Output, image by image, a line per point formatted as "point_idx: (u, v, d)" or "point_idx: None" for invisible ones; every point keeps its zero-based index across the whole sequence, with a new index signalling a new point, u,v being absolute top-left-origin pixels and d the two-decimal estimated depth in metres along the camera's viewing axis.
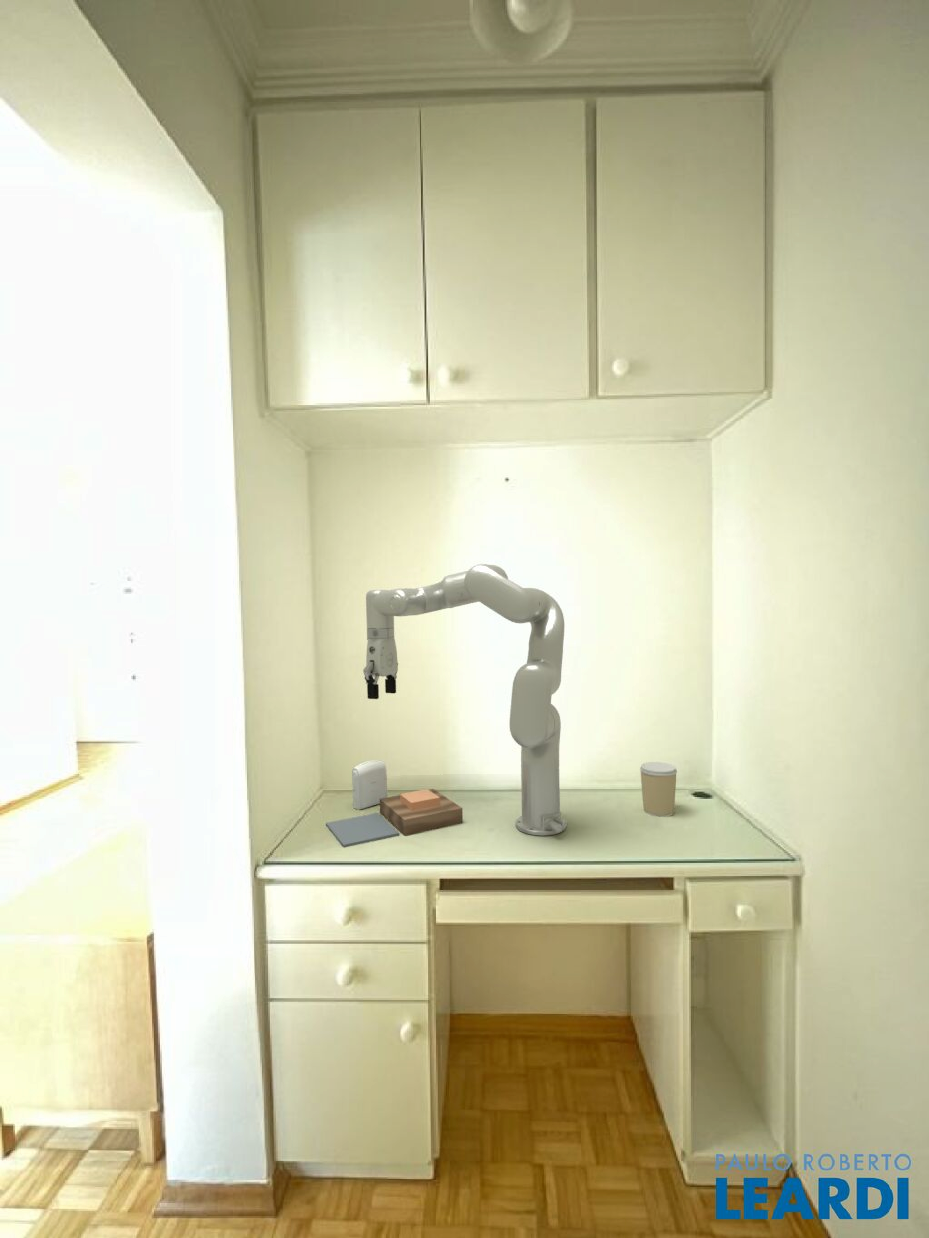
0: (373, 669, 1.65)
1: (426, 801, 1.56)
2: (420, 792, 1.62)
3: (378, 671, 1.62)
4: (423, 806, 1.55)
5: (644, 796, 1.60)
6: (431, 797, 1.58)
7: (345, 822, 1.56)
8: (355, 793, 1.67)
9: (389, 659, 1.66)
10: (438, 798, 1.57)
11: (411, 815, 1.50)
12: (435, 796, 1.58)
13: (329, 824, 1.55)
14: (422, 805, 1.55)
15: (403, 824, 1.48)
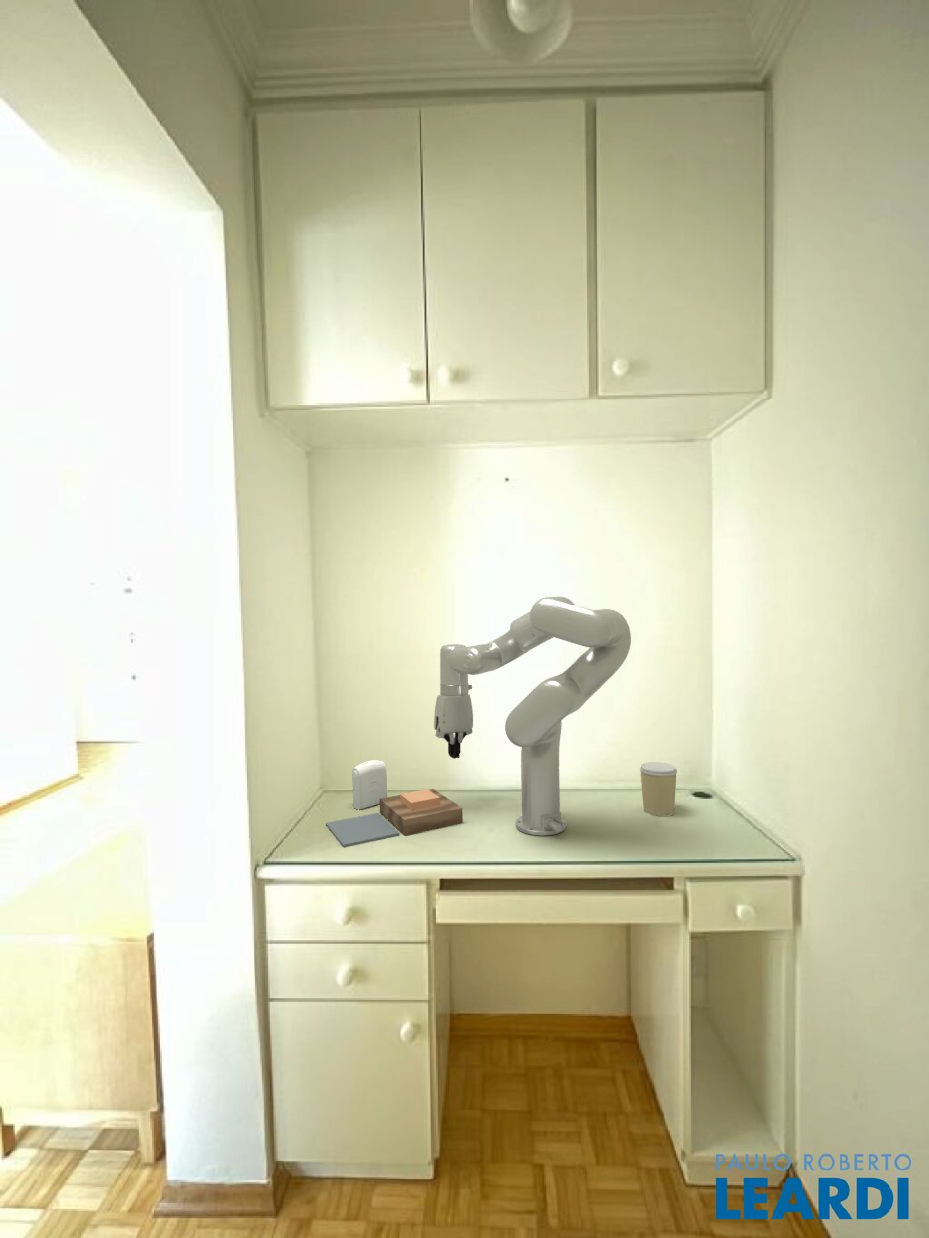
0: None
1: (426, 801, 1.56)
2: (420, 792, 1.62)
3: None
4: (423, 806, 1.55)
5: (644, 796, 1.60)
6: (431, 797, 1.58)
7: (345, 822, 1.56)
8: (355, 793, 1.67)
9: None
10: (438, 798, 1.57)
11: (411, 815, 1.50)
12: (435, 796, 1.58)
13: (329, 824, 1.55)
14: (422, 805, 1.55)
15: (403, 824, 1.48)
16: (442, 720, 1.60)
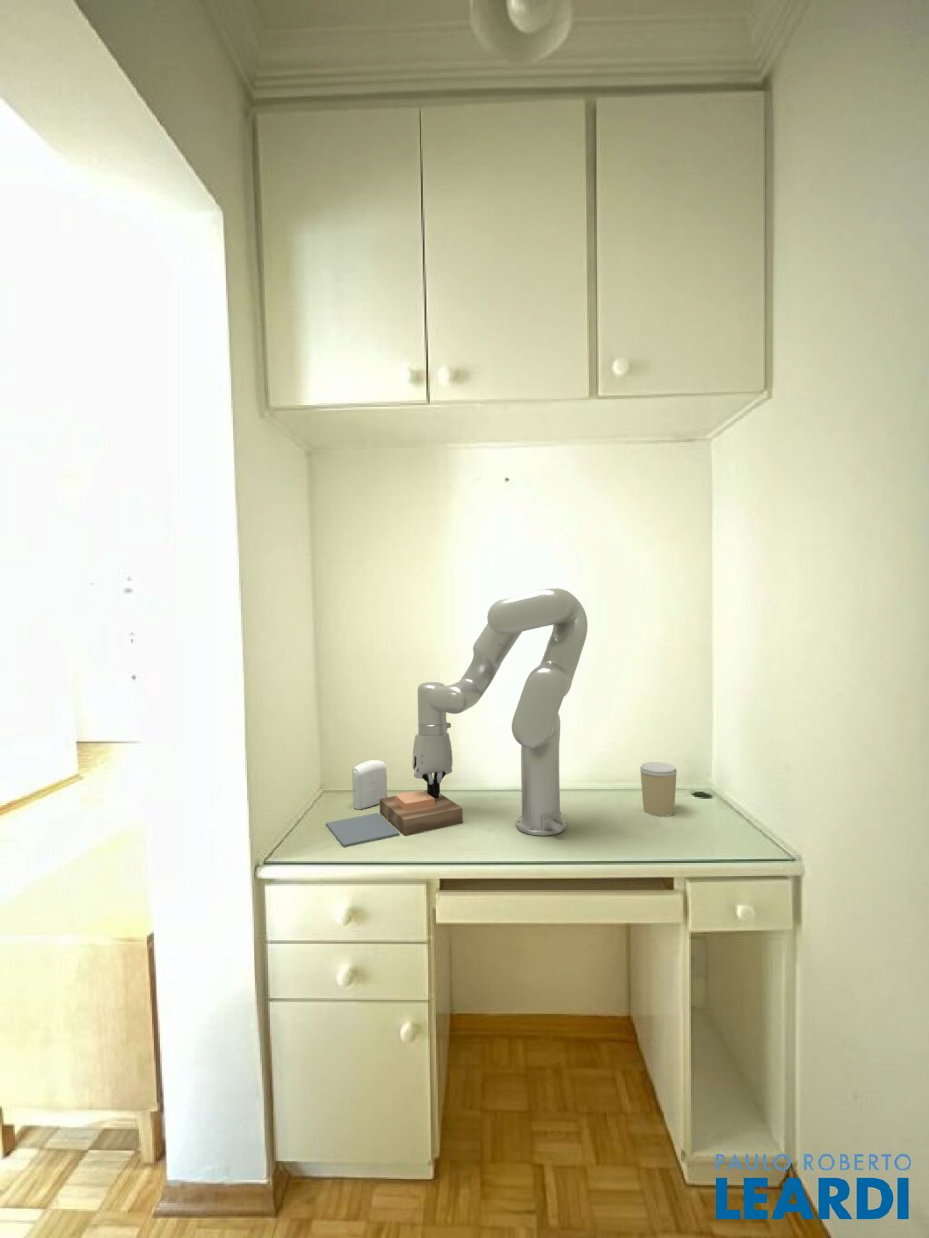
0: None
1: (421, 802, 1.55)
2: (415, 793, 1.61)
3: None
4: (418, 807, 1.55)
5: (644, 796, 1.60)
6: (426, 798, 1.57)
7: (345, 822, 1.56)
8: (355, 793, 1.67)
9: None
10: (433, 799, 1.57)
11: (411, 815, 1.50)
12: (430, 797, 1.58)
13: (329, 824, 1.55)
14: (416, 806, 1.55)
15: (403, 824, 1.48)
16: (420, 760, 1.57)
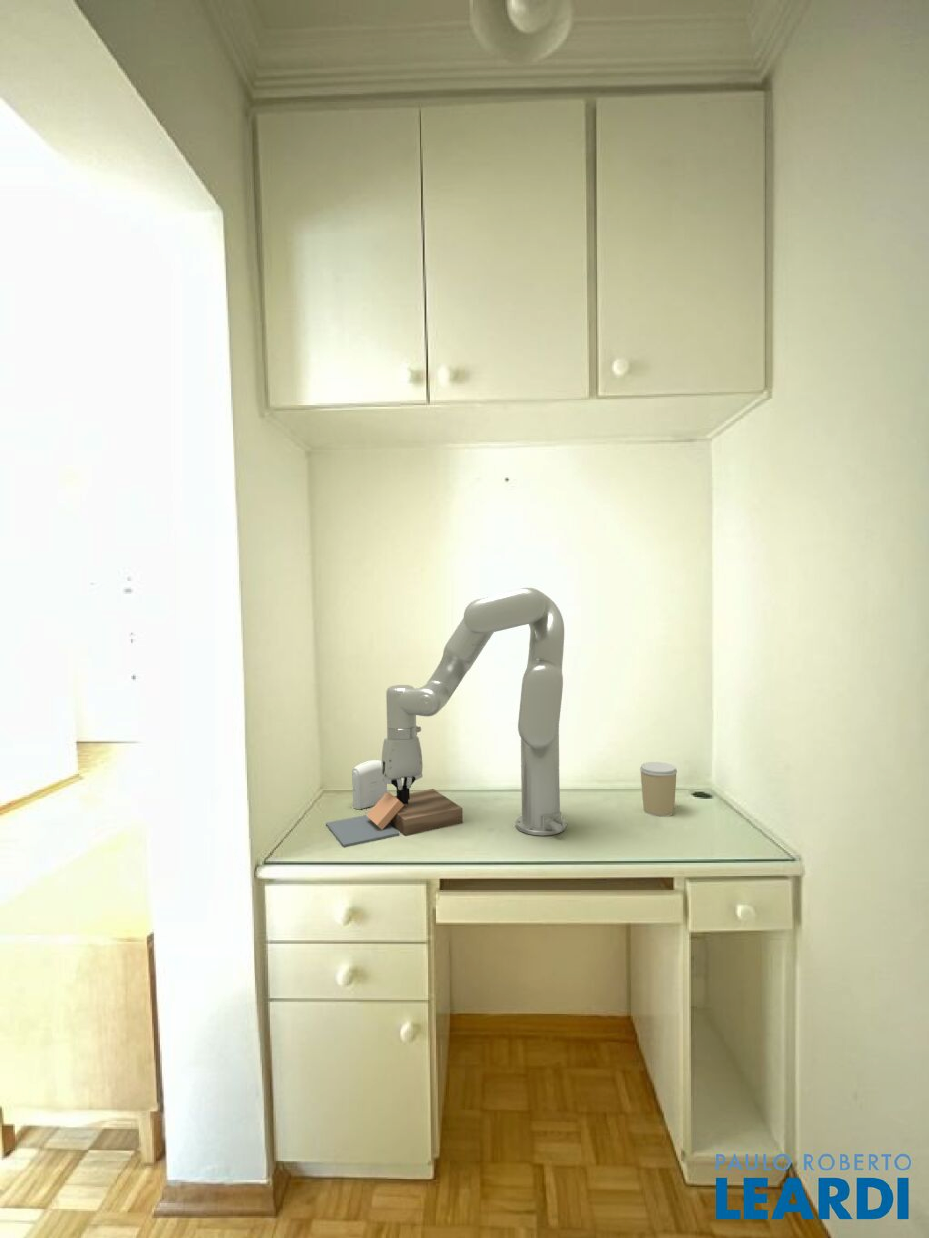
0: None
1: (390, 812, 1.51)
2: (382, 800, 1.57)
3: None
4: (390, 818, 1.51)
5: (644, 796, 1.60)
6: (392, 804, 1.52)
7: (345, 822, 1.56)
8: (355, 793, 1.67)
9: None
10: (398, 801, 1.52)
11: (411, 815, 1.50)
12: (395, 800, 1.53)
13: (329, 824, 1.55)
14: (388, 818, 1.51)
15: (403, 824, 1.48)
16: (388, 765, 1.53)
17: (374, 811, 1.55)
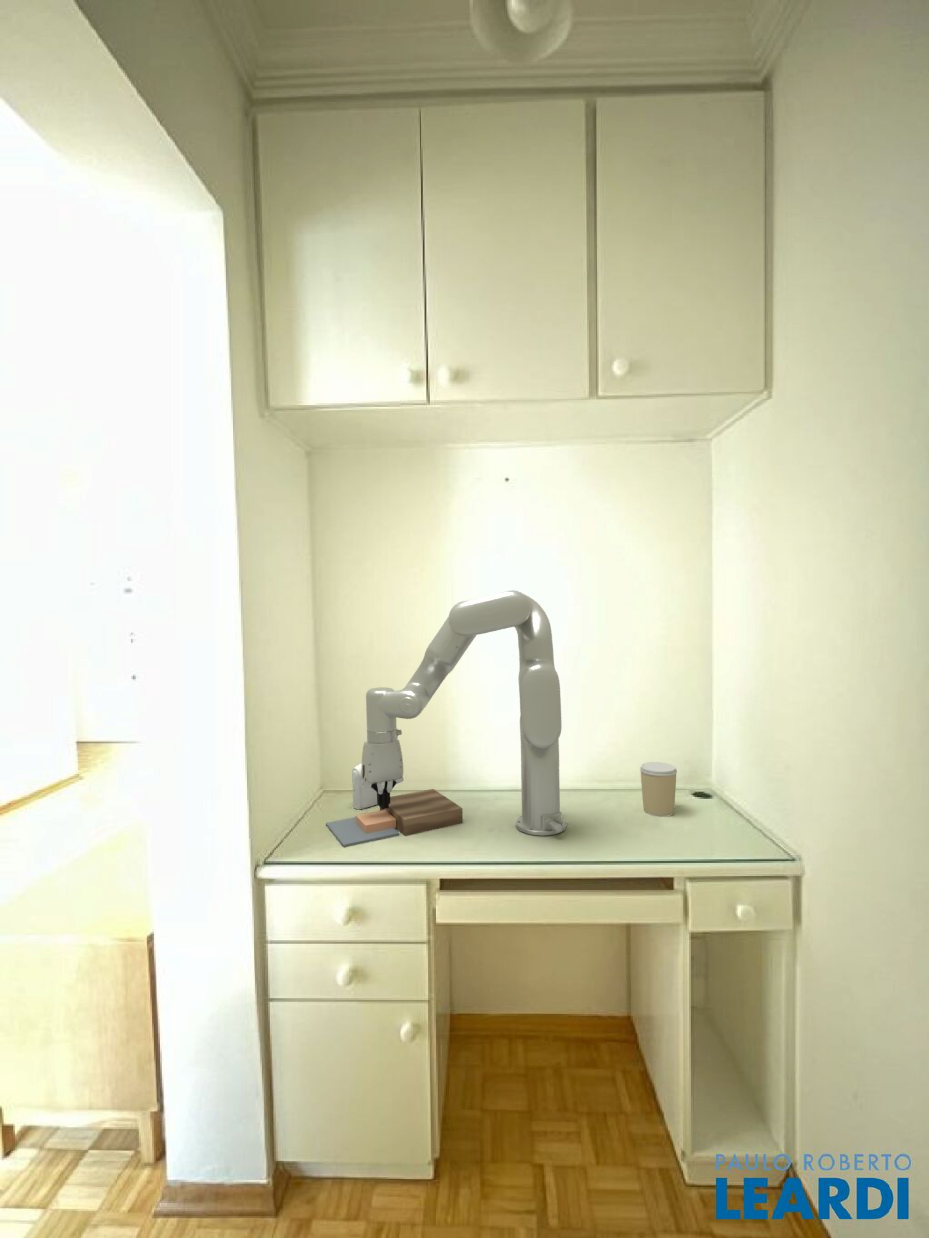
0: None
1: (381, 824, 1.50)
2: (377, 813, 1.56)
3: None
4: (378, 829, 1.50)
5: (644, 796, 1.60)
6: (387, 819, 1.52)
7: (345, 822, 1.56)
8: (355, 793, 1.67)
9: None
10: (394, 820, 1.52)
11: (411, 815, 1.50)
12: (391, 818, 1.53)
13: (329, 824, 1.55)
14: (376, 827, 1.50)
15: (403, 824, 1.48)
16: (368, 769, 1.50)
17: (366, 816, 1.54)
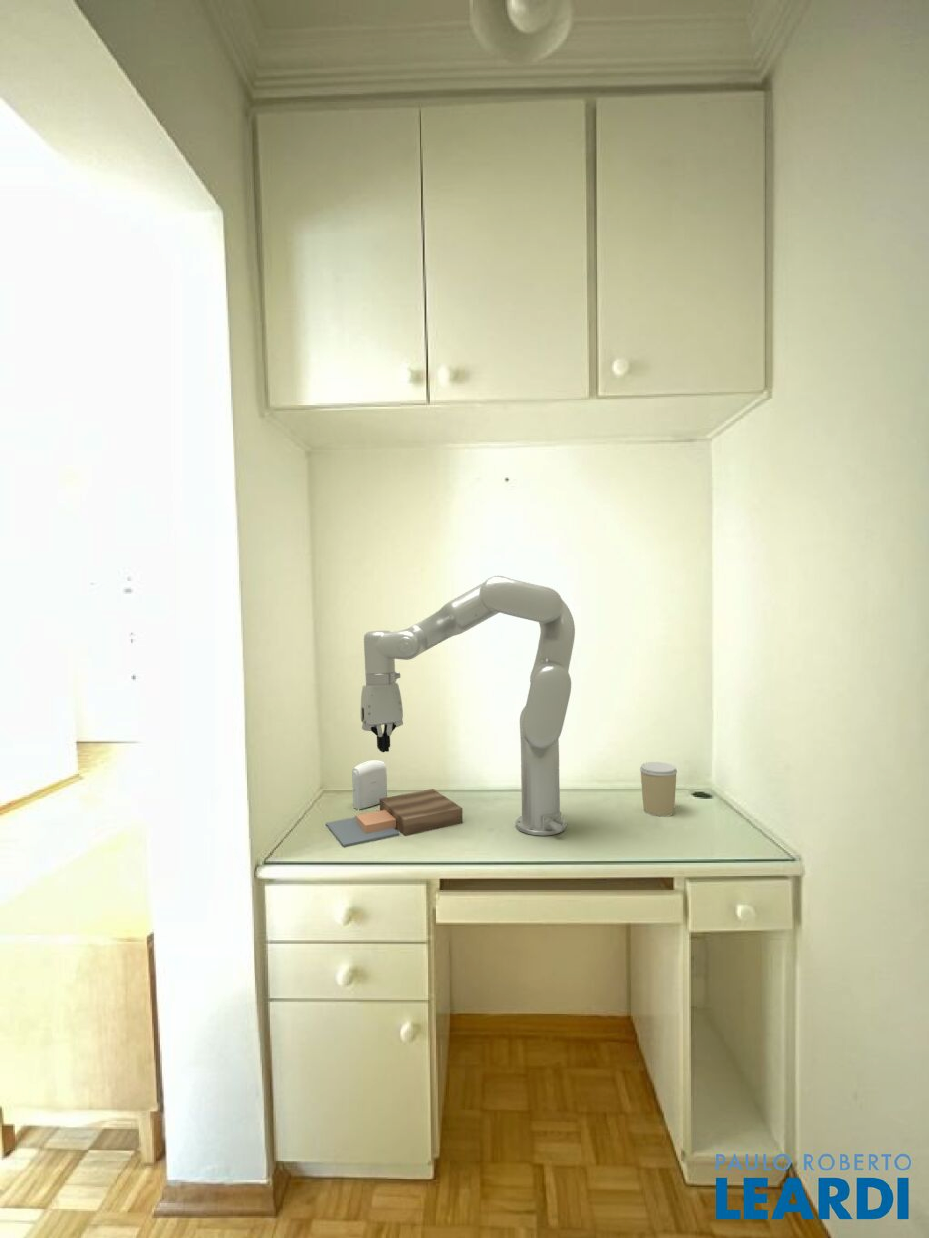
0: None
1: (381, 824, 1.50)
2: (377, 813, 1.56)
3: None
4: (378, 829, 1.50)
5: (644, 796, 1.60)
6: (387, 819, 1.52)
7: (345, 822, 1.56)
8: (355, 793, 1.67)
9: None
10: (394, 820, 1.52)
11: (411, 815, 1.50)
12: (391, 818, 1.53)
13: (329, 824, 1.55)
14: (376, 827, 1.50)
15: (403, 824, 1.48)
16: (367, 711, 1.50)
17: (366, 816, 1.54)
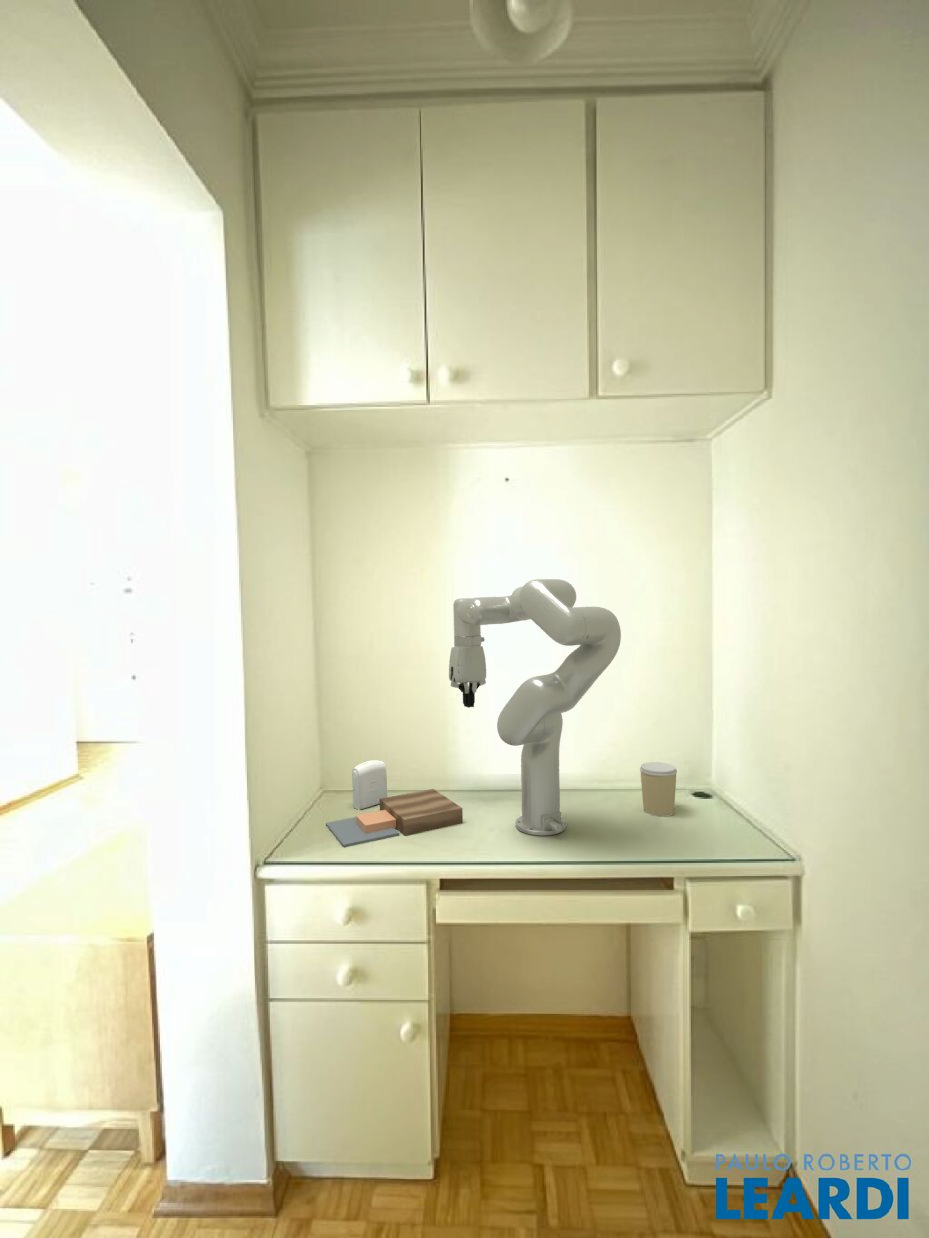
0: None
1: (381, 824, 1.50)
2: (377, 813, 1.56)
3: None
4: (378, 829, 1.50)
5: (644, 796, 1.60)
6: (387, 819, 1.52)
7: (345, 822, 1.56)
8: (355, 793, 1.67)
9: None
10: (394, 820, 1.52)
11: (411, 815, 1.50)
12: (391, 818, 1.53)
13: (329, 824, 1.55)
14: (376, 827, 1.50)
15: (403, 824, 1.48)
16: (457, 670, 1.67)
17: (366, 816, 1.54)
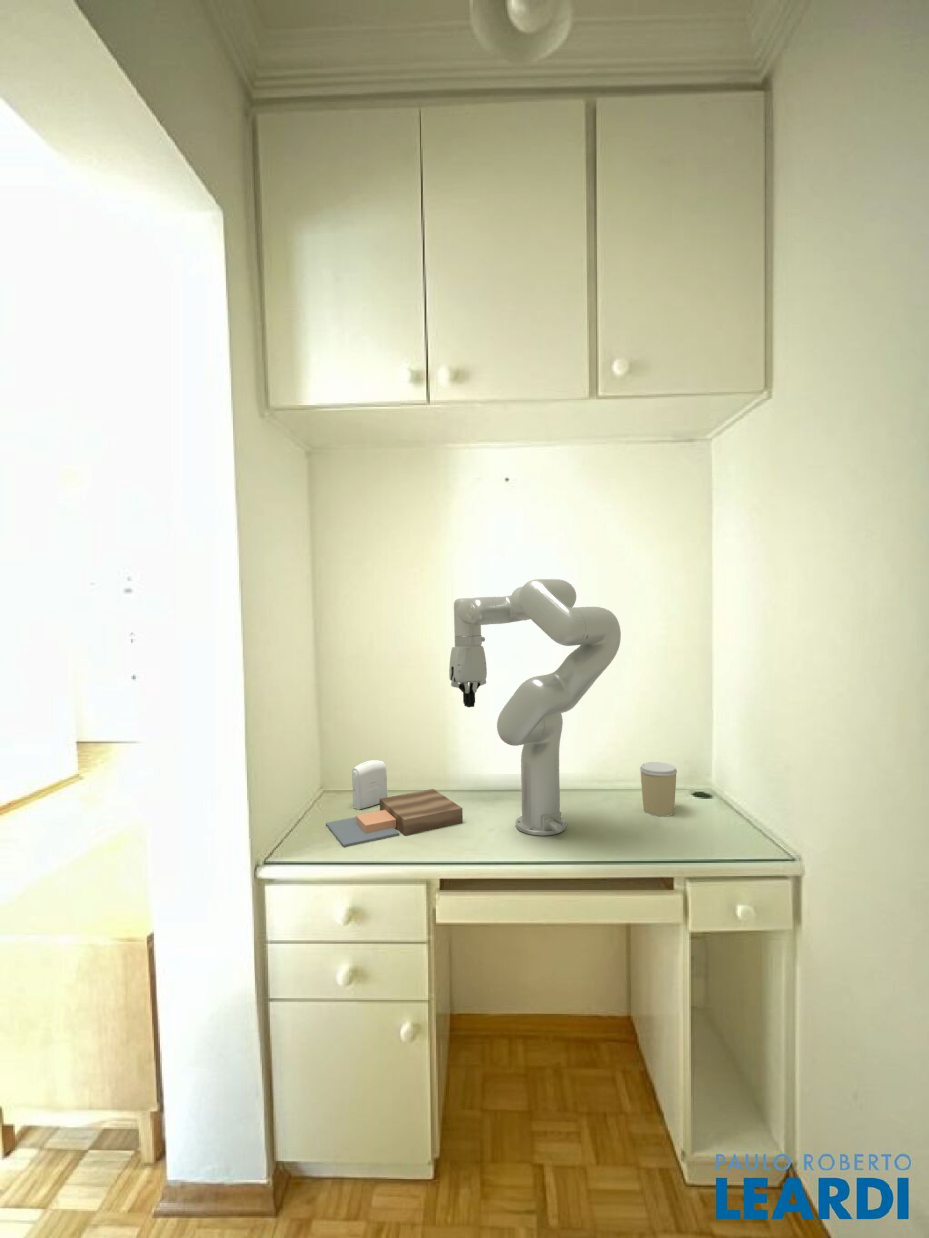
0: None
1: (381, 824, 1.50)
2: (377, 813, 1.56)
3: None
4: (378, 829, 1.50)
5: (644, 796, 1.60)
6: (387, 819, 1.52)
7: (345, 822, 1.56)
8: (355, 793, 1.67)
9: None
10: (394, 820, 1.52)
11: (411, 815, 1.50)
12: (391, 818, 1.53)
13: (329, 824, 1.55)
14: (376, 827, 1.50)
15: (403, 824, 1.48)
16: (457, 670, 1.67)
17: (366, 816, 1.54)
